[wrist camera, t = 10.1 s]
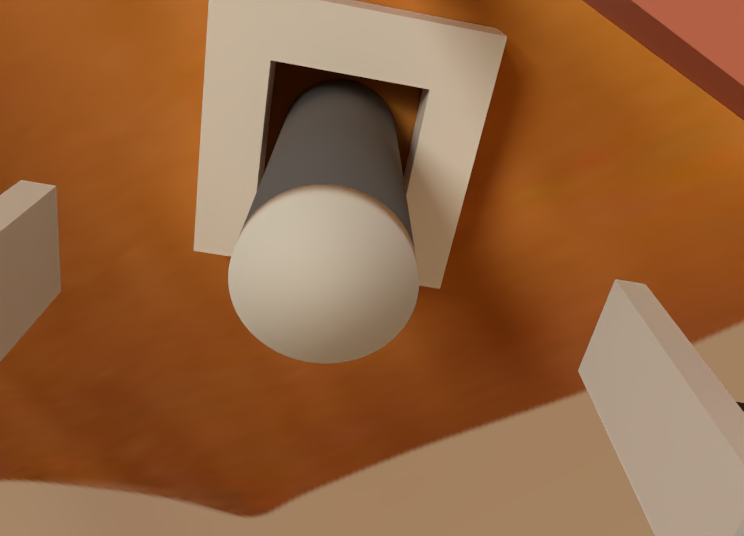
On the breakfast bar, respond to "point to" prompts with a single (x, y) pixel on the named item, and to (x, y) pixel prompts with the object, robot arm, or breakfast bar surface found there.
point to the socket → (353, 57)
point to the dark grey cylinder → (328, 232)
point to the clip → (690, 40)
